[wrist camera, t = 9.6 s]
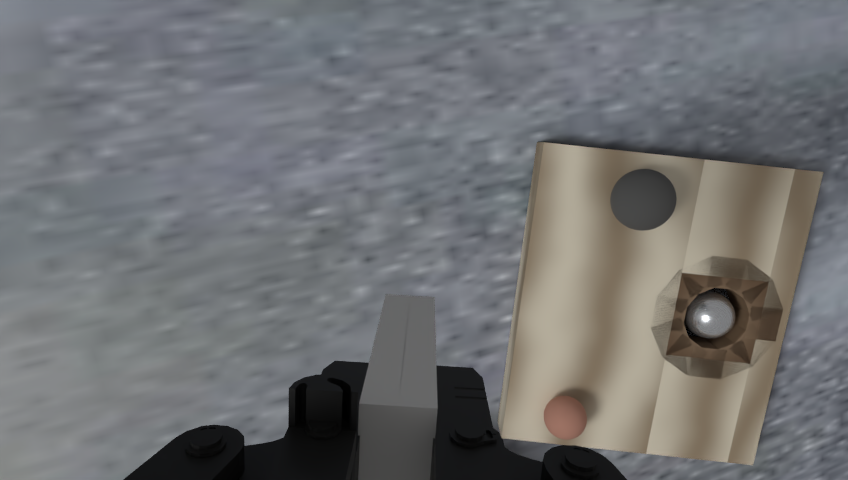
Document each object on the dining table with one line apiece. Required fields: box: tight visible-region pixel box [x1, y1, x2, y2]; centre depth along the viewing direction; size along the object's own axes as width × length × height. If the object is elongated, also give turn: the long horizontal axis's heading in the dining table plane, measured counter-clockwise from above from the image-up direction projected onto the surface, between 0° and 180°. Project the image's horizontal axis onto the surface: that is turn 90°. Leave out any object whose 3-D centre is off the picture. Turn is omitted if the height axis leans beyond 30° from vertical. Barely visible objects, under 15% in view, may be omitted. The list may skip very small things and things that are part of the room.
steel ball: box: [684, 291, 735, 338], centre depth 40 cm, size 3×3×3 cm
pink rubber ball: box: [544, 396, 587, 440], centre depth 39 cm, size 3×3×3 cm
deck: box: [498, 142, 823, 465], centre depth 40 cm, size 19×22×2 cm
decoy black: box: [610, 169, 677, 231], centre depth 35 cm, size 4×4×4 cm
